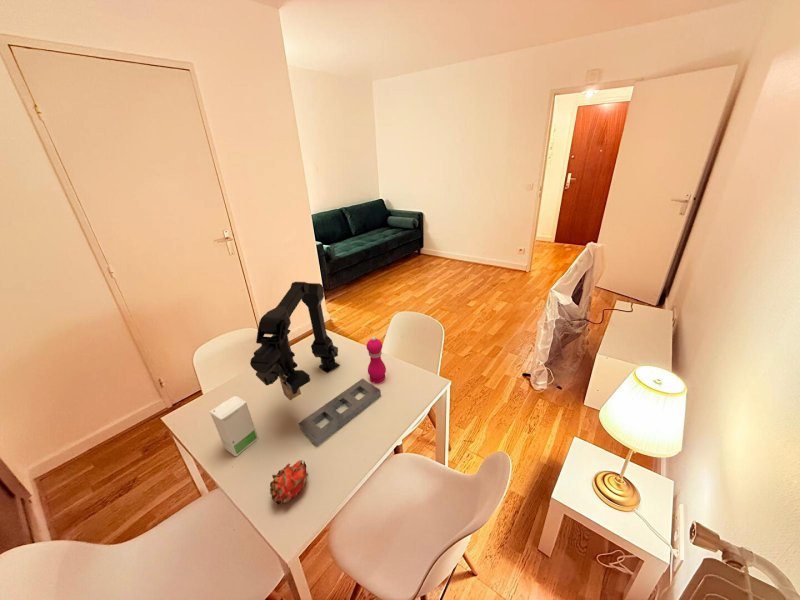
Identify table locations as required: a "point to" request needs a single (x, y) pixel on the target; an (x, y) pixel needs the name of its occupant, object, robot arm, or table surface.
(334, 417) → the grey peg hole board
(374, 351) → the pepper mill
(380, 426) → the table surface
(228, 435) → the skincare box
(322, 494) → the table surface
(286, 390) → the walnut peg
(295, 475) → the dragon fruit
